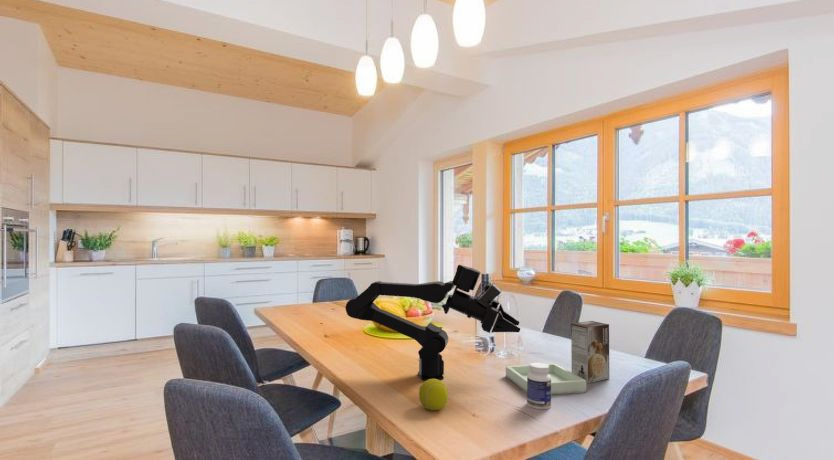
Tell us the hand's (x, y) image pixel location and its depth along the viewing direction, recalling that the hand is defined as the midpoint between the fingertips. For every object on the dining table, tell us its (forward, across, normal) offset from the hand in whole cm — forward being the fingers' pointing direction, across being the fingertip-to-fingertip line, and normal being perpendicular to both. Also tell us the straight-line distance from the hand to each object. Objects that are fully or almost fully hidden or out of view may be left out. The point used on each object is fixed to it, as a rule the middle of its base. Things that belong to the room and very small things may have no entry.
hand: (519, 326), depth 122 cm
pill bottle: (+10, -15, +14) cm, 23 cm away
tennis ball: (-13, -23, +22) cm, 35 cm away
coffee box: (+25, +10, +8) cm, 28 cm away
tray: (+12, +1, +12) cm, 17 cm away
